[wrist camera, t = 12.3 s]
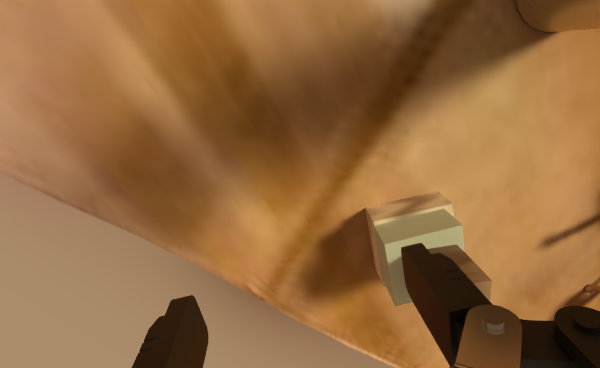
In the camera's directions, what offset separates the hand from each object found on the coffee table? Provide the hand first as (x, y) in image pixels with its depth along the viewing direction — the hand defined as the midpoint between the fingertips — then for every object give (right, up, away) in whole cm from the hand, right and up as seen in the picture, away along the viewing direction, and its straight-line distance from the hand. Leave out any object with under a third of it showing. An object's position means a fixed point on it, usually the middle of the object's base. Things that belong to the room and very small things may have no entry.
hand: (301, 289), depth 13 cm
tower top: (+13, -3, +27) cm, 30 cm away
